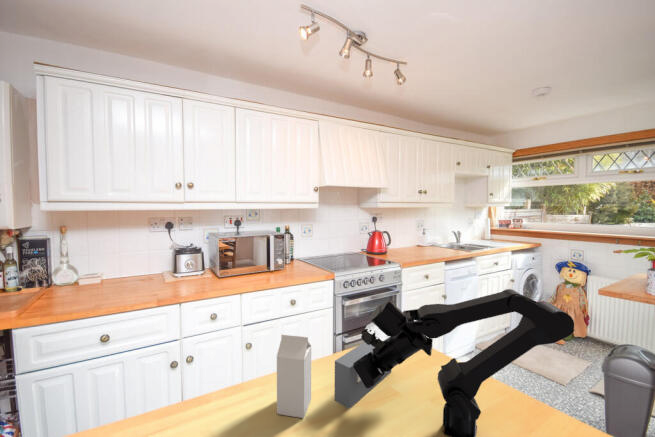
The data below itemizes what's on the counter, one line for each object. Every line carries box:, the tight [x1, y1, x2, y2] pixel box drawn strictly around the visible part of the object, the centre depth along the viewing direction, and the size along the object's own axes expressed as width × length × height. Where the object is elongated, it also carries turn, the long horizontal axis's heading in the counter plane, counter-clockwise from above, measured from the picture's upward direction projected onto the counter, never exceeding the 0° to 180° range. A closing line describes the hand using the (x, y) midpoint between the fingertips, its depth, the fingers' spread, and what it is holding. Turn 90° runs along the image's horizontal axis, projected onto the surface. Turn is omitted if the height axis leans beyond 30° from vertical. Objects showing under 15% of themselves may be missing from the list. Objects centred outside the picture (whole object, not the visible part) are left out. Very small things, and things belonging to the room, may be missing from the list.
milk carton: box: [276, 334, 312, 419], centre depth 75 cm, size 7×7×19 cm
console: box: [334, 341, 392, 410], centre depth 85 cm, size 5×22×11 cm, turn 139°
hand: (362, 372), depth 78 cm, fingers closed, pressing on cream button
